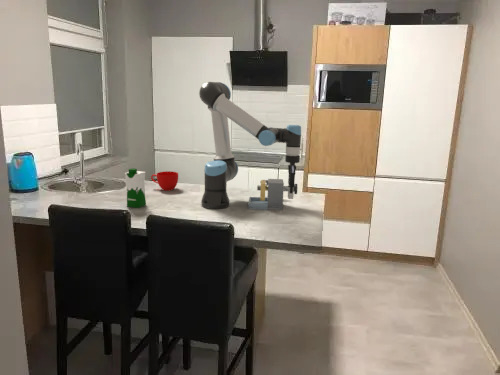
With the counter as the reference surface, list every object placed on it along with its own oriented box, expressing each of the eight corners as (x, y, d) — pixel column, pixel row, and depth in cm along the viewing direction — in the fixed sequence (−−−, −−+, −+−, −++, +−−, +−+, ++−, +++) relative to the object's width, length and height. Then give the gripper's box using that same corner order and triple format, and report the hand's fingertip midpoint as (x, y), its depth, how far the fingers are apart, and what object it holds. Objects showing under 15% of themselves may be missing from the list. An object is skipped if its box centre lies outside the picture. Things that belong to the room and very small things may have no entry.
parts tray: (248, 208, 211) (248, 203, 210) (249, 202, 223) (249, 196, 223) (267, 209, 210) (267, 203, 210) (267, 202, 223) (267, 197, 222)
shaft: (257, 194, 212) (257, 183, 211) (257, 191, 218) (257, 181, 217) (297, 195, 212) (297, 185, 211) (296, 192, 217) (296, 182, 216)
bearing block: (267, 209, 210) (268, 183, 207) (267, 202, 224) (268, 178, 220) (282, 210, 210) (283, 184, 206) (281, 202, 223) (282, 178, 220)
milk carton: (124, 206, 208) (122, 169, 203) (134, 202, 216) (133, 166, 212) (138, 208, 205) (137, 170, 200) (148, 204, 214) (147, 167, 209)
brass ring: (260, 200, 212) (260, 183, 209) (260, 196, 220) (260, 180, 218) (264, 200, 211) (265, 184, 209) (264, 196, 220) (265, 180, 218)
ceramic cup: (155, 186, 254) (155, 170, 251) (181, 187, 252) (181, 172, 249) (147, 190, 241) (147, 174, 239) (174, 192, 239) (174, 176, 237)
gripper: (301, 157, 202) (298, 202, 207) (298, 152, 217) (296, 194, 223) (286, 156, 202) (284, 201, 208) (284, 152, 218) (282, 193, 223)
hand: (290, 197), depth 215 cm, fingers closed on shaft, 3 cm apart
